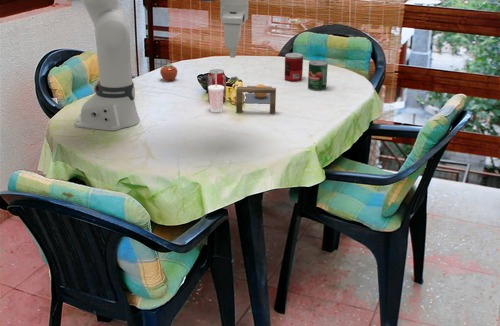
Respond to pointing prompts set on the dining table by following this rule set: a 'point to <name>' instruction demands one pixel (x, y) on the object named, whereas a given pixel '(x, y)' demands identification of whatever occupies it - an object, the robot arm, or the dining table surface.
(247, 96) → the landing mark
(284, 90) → the dining table surface
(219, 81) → the soda can
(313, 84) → the canned tomato
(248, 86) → the rail
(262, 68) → the dining table surface
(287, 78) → the canned food
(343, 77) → the dining table surface
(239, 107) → the bridge
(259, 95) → the ball
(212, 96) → the beverage cup
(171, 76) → the tomato
